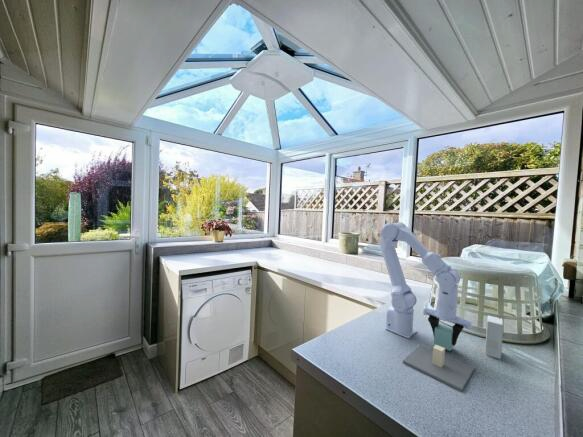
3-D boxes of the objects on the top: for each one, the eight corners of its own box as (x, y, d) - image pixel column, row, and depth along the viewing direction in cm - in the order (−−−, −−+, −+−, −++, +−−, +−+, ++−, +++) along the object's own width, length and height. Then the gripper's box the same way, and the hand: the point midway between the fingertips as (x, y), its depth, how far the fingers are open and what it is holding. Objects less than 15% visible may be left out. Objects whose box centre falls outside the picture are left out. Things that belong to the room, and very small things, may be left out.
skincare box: (485, 347, 89) (487, 315, 88) (500, 351, 86) (503, 318, 86) (484, 354, 84) (487, 320, 84) (501, 359, 81) (503, 324, 81)
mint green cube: (433, 344, 88) (434, 328, 87) (438, 339, 91) (439, 323, 91) (450, 351, 84) (451, 334, 83) (455, 345, 87) (456, 329, 87)
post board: (402, 362, 79) (403, 344, 78) (420, 346, 88) (421, 330, 88) (461, 391, 67) (463, 370, 66) (474, 369, 76) (475, 351, 76)
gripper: (421, 299, 89) (418, 335, 90) (468, 313, 79) (465, 354, 79) (428, 295, 94) (426, 329, 95) (474, 307, 83) (471, 346, 84)
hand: (444, 340), depth 87 cm, fingers closed on mint green cube, 5 cm apart
